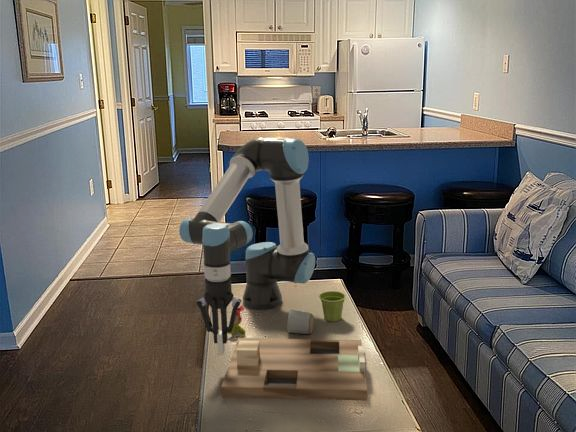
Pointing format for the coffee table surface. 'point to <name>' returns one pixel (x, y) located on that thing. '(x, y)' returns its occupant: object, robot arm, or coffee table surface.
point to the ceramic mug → (300, 322)
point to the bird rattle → (237, 322)
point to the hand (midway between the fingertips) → (221, 352)
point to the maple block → (248, 353)
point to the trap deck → (300, 370)
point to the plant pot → (332, 305)
